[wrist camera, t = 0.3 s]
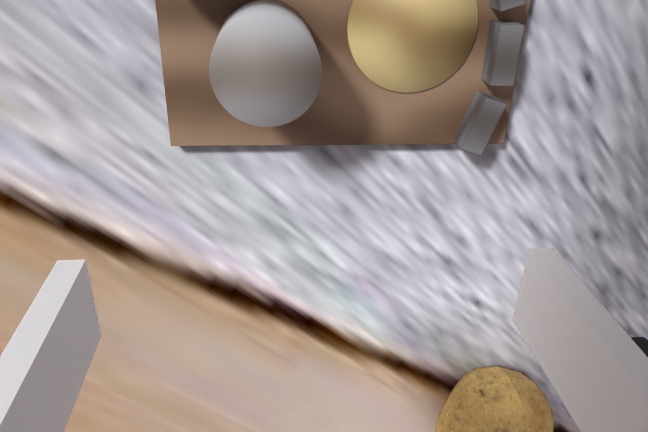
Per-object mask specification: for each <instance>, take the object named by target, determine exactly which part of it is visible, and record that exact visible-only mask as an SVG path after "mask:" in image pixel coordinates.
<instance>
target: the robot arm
mask: <svg viewBox="0 0 648 432" xmlns="http://www.w3.org/2000/svg"><path fill="white" fill-rule="evenodd" d="M512 320H513V321H514V323H515V325H516V326H517V328H518V330H519V331H520V333H521V335H522V336H523V338H524V339H525V341H526V343H527V344H528V346H529V348H530V349H531V351H532V353H533V354H534V356H535V358H536V359H537V361H538V362H539V364H540V366H541V367H542V369H543V371H544V372H545V374H546V376H547V377H548V379H549V381H550V382H551V384H552V386H553V387H554V389H555V390H556V392H557V394H558V395H559V397H560V399H561V400H562V402H563V404H564V405H565V407H566V409H567V410H568V412H569V413H570V415H571V417H572V418H573V420H574V422H575V423H576V425H577V427H578V428H579V430H580V432H648V340H647V339H645V338H644V337H632V338H631V337H630V336H629V335H628V334H627V333H626V332H625V331H624V329H623V328H622V327H621V326H620V325H619V324H618V322H617V321H616V320H615V319H614V318H613V317H612V315H611V314H610V313H609V312H608V311H607V310H606V308H605V307H604V306H603V305H602V304H601V303H600V301H599V300H598V299H597V298H596V297H595V296H594V295H593V293H592V292H591V291H590V290H589V289H588V288H587V286H586V285H585V284H584V283H583V282H582V281H581V279H580V278H579V277H578V276H577V275H576V274H575V272H574V271H573V270H572V269H571V268H570V267H569V265H568V264H567V263H566V262H565V261H564V260H563V258H562V257H561V256H560V255H559V254H558V253H557V252H556V250H555V249H554V248H529V252H528V256H527V260H526V265H525V269H524V273H523V277H522V281H521V286H520V290H519V294H518V298H517V303H516V307H515V311H514V315H513V319H512ZM100 337H101V332H100V327H99V322H98V317H97V313H96V308H95V303H94V298H93V293H92V288H91V283H90V278H89V274H88V269H87V264H86V260H58V261H57V262H56V264H55V266H54V267H53V269H52V271H51V272H50V274H49V276H48V277H47V279H46V281H45V282H44V284H43V286H42V287H41V289H40V291H39V292H38V294H37V296H36V297H35V299H34V301H33V303H32V304H31V306H30V308H29V309H28V311H27V313H26V314H25V316H24V318H23V319H22V321H21V323H20V324H19V326H18V328H17V329H16V331H15V333H14V334H13V336H12V338H11V339H10V341H9V343H8V344H7V346H6V348H5V349H4V351H3V353H2V355H1V356H0V432H64V430H65V427H66V425H67V422H68V420H69V417H70V415H71V412H72V409H73V407H74V404H75V402H76V399H77V396H78V394H79V391H80V389H81V386H82V384H83V381H84V378H85V376H86V373H87V371H88V368H89V365H90V363H91V360H92V358H93V355H94V353H95V350H96V347H97V345H98V342H99V340H100Z"/></svg>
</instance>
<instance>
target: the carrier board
mask: <svg viewBox="0 0 648 432" xmlns="http://www.w3.org/2000/svg"><path fill="white" fill-rule="evenodd" d="M155 1H156V10H157V19H158V29H159V38H160V47H161V57H162V66H163V75H164V85H165V94H166V103H167V113H168V122H169V131H170V141H171V146H232V145H360V144H458V145H459V146H460V148H461V149H463V150H466V151H469V152H473V153H476V154H479V155H481V154H482V152H483V150H484V148H485V146H486V144H488V143H504V138H505V133H506V127H507V122H508V117H509V111H510V106H511V101H512V95H513V90H514V85H515V79H516V74H517V69H518V63H519V58H520V53H521V47H522V42H523V37H524V31H525V26H526V21H527V15H528V10H529V5H530V0H155Z"/></svg>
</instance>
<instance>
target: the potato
mask: <svg viewBox="0 0 648 432" xmlns="http://www.w3.org/2000/svg"><path fill="white" fill-rule="evenodd" d="M553 427H554V420H553V413H552V409H551V407H550V405H549V403H548V400H547V398H546V396H545V395H544V394H543V392H542V391H541V390H540V389H539V388H538V386H537V385H536V384H535V383H534V382H533V381H531V380H530V379H528V378H527V377H526V376H524V375H523V374H521V373H520V372H517V371H513V370H509V369H505V368H501V367H497V366H495V367H484V368H475V369H474V370H472V371H470V372H469V373H467V374H465V375H464V376H463V377H462V378H461V379H460V381H459V382H458V383H457V384H456V385H455V387H454V388H453V390H452V391H451V393H450V394H449V396H448V397H447V399H446V401H445V403H444V405H443V407H442V410H441V412H440V414H439V417H438V421H437V424H436V431H435V432H553Z"/></svg>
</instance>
